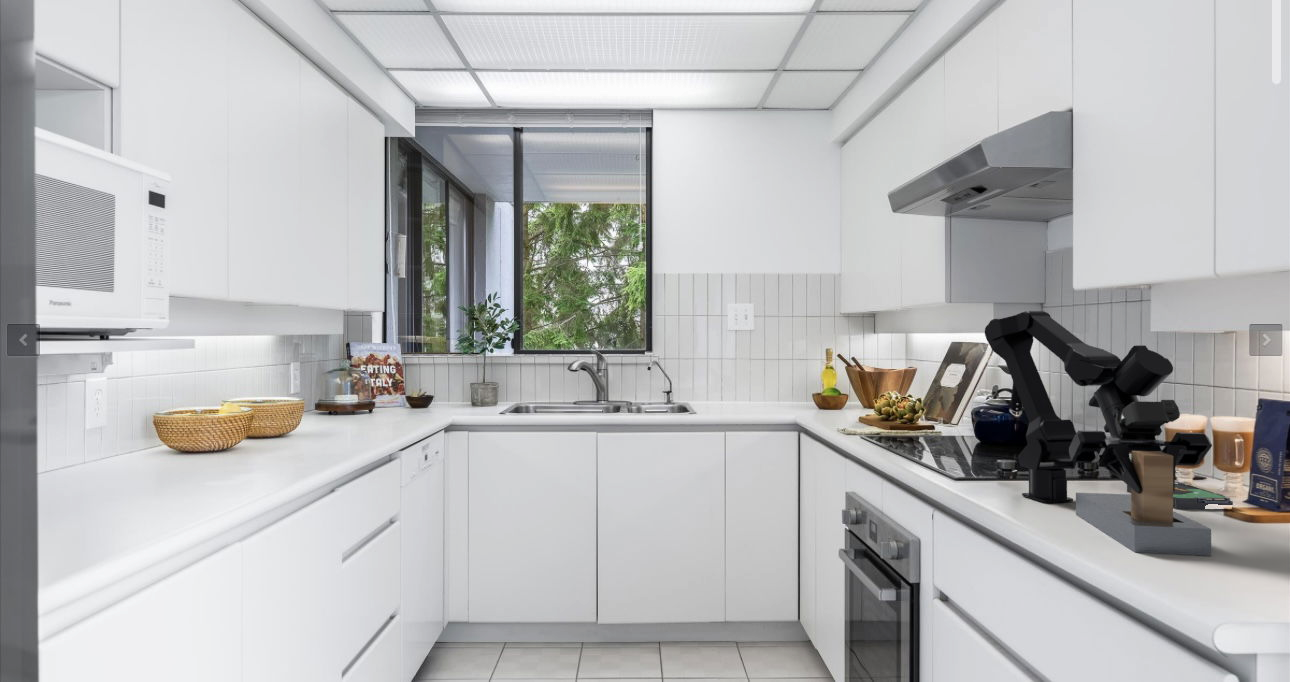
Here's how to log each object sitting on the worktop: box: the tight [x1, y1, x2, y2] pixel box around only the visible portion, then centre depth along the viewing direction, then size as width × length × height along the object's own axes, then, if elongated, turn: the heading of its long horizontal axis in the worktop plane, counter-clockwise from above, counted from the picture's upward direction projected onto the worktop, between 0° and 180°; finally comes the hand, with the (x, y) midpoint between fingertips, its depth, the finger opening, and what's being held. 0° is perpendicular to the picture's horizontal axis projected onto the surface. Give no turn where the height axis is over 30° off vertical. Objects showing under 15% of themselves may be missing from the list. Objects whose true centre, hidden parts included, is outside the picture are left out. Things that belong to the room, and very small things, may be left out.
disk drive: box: [1126, 481, 1234, 511], centre depth 135 cm, size 10×3×15 cm
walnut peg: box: [1130, 451, 1174, 522], centre depth 109 cm, size 4×4×12 cm
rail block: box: [1075, 492, 1212, 557], centre depth 113 cm, size 22×10×4 cm, turn 168°
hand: (1156, 492), depth 107 cm, fingers closed on walnut peg, 4 cm apart
